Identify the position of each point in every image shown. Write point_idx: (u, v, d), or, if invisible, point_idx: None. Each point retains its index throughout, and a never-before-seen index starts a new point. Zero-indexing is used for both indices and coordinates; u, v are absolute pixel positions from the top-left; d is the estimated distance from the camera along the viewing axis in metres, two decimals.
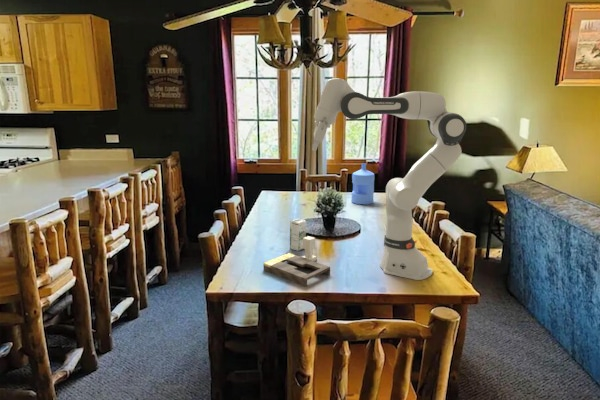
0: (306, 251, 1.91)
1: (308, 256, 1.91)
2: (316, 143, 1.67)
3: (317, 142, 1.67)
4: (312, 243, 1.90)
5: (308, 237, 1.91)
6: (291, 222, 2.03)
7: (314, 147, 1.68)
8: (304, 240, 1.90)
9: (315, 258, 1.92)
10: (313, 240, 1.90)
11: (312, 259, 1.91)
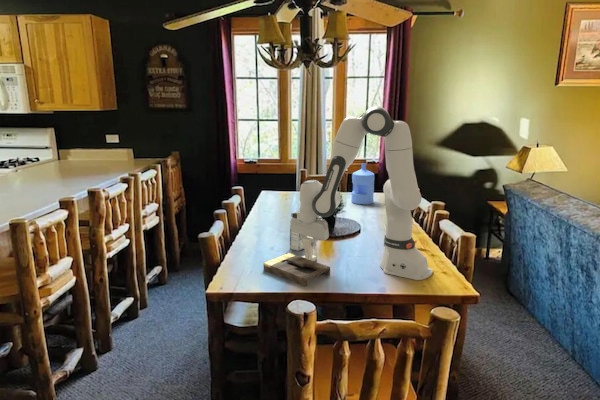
0: (306, 251, 1.91)
1: (308, 256, 1.91)
2: (316, 240, 1.87)
3: (317, 239, 1.87)
4: None
5: (308, 237, 1.91)
6: None
7: (314, 243, 1.88)
8: (304, 240, 1.90)
9: (315, 258, 1.92)
10: (313, 240, 1.90)
11: (312, 259, 1.91)
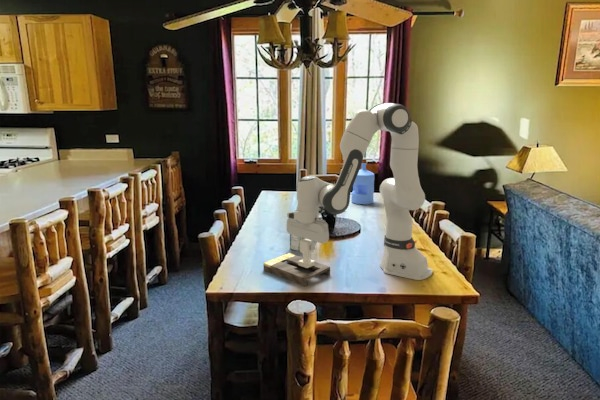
0: (304, 255, 1.73)
1: (306, 260, 1.72)
2: (315, 243, 1.69)
3: (315, 241, 1.69)
4: None
5: (306, 239, 1.72)
6: None
7: (313, 247, 1.70)
8: (301, 243, 1.71)
9: (314, 263, 1.74)
10: (311, 243, 1.71)
11: (310, 264, 1.72)
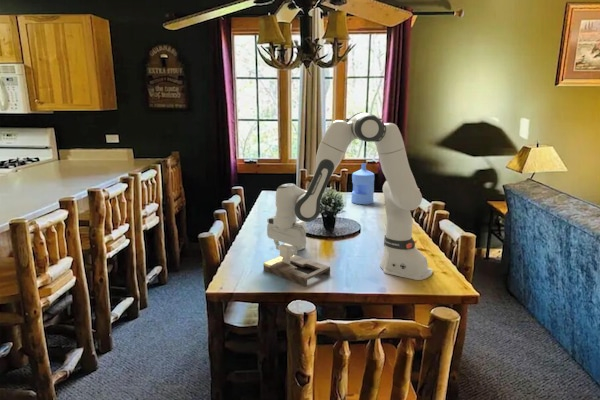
0: (283, 259, 1.82)
1: None
2: (297, 248, 1.77)
3: (297, 247, 1.77)
4: (289, 251, 1.80)
5: (285, 244, 1.81)
6: None
7: (295, 252, 1.77)
8: (281, 247, 1.80)
9: None
10: (290, 247, 1.80)
11: None
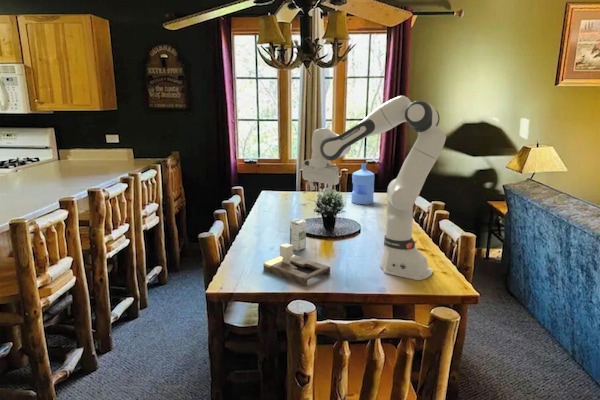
0: (283, 259, 1.82)
1: None
2: (330, 186, 1.96)
3: (331, 185, 1.96)
4: (289, 251, 1.80)
5: (285, 244, 1.81)
6: (291, 222, 2.03)
7: (329, 190, 1.97)
8: (281, 247, 1.80)
9: None
10: (290, 247, 1.80)
11: None
